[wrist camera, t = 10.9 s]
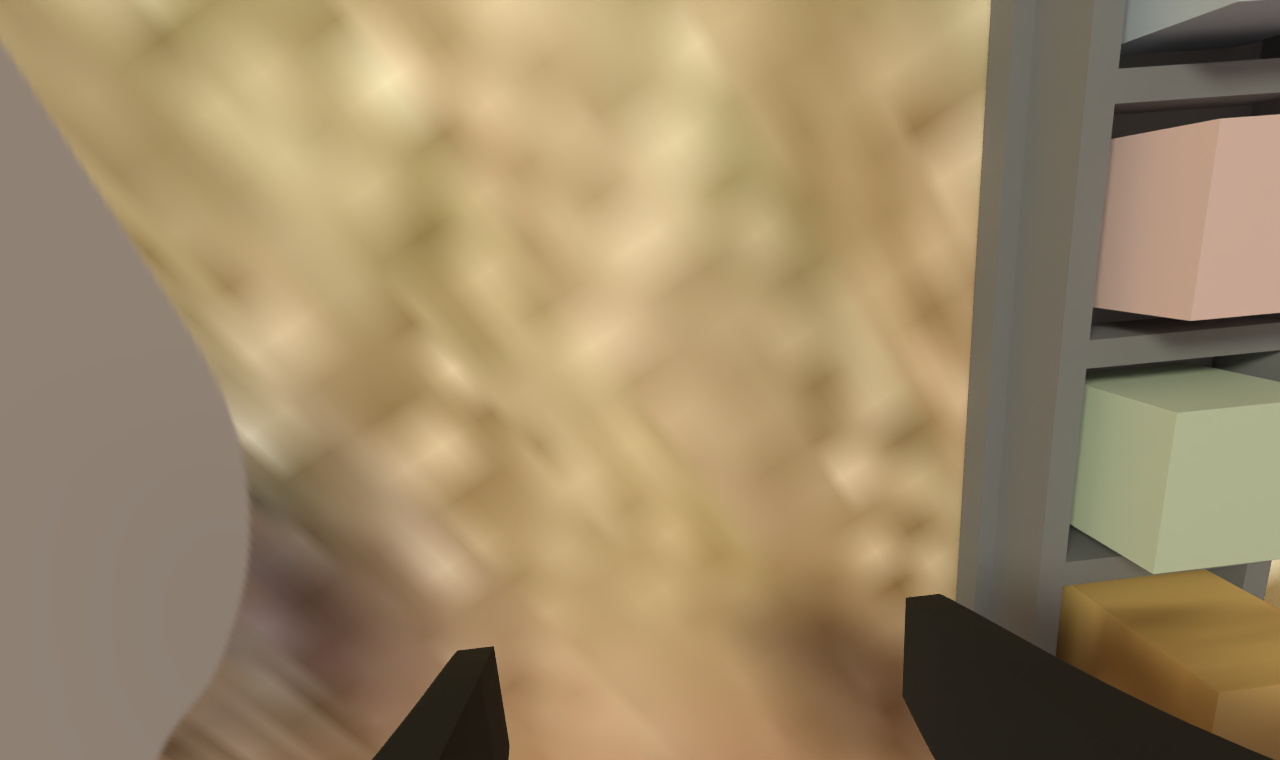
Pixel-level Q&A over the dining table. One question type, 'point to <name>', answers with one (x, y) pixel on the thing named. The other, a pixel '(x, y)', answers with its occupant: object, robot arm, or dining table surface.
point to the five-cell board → (1059, 289)
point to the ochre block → (1182, 650)
